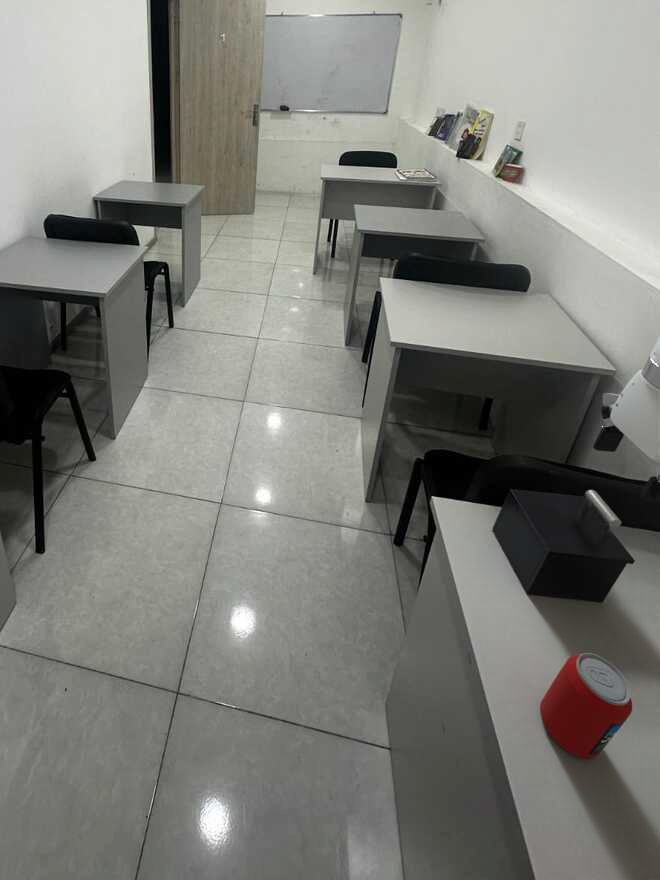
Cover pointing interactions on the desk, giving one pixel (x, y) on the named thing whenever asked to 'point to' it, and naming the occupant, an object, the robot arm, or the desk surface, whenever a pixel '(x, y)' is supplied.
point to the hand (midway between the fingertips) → (626, 473)
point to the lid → (572, 525)
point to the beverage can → (586, 705)
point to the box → (550, 563)
